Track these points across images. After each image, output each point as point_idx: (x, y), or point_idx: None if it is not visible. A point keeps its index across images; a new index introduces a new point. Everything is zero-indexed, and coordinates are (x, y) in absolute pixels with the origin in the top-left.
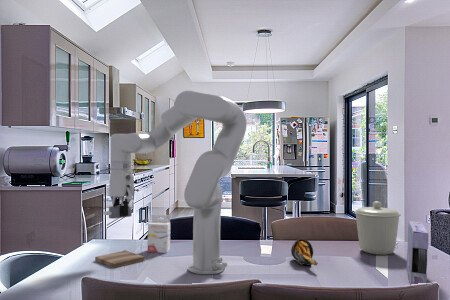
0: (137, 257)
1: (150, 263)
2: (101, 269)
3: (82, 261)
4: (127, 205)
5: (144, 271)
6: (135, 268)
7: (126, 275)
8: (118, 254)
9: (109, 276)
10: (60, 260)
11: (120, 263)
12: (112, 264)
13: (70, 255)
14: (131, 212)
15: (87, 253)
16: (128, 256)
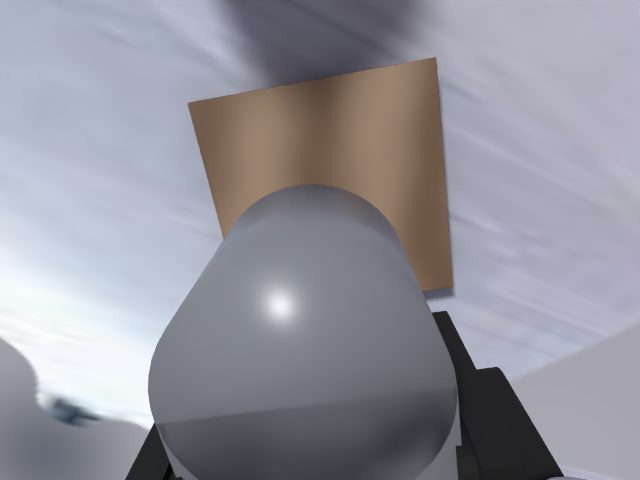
0: (420, 112)
1: (514, 55)
2: None
3: None
4: (518, 471)
5: (627, 168)
6: (536, 185)
7: (607, 273)
8: (268, 187)
9: (555, 339)
10: (145, 423)
11: (448, 245)
12: (434, 286)
13: (64, 366)
14: (369, 218)
15: (58, 286)
16: (356, 152)
